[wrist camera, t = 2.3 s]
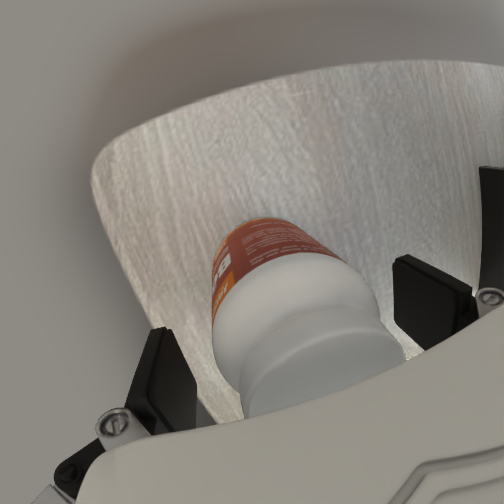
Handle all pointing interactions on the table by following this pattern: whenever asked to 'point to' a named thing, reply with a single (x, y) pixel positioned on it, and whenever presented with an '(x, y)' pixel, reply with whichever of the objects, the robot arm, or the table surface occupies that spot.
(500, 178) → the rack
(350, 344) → the pill bottle
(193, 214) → the table surface
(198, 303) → the table surface
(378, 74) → the table surface
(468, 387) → the robot arm
